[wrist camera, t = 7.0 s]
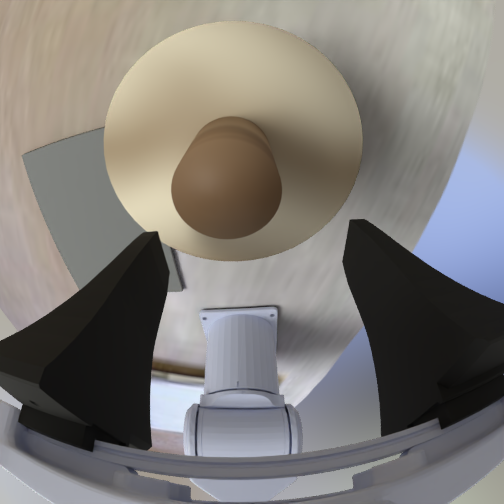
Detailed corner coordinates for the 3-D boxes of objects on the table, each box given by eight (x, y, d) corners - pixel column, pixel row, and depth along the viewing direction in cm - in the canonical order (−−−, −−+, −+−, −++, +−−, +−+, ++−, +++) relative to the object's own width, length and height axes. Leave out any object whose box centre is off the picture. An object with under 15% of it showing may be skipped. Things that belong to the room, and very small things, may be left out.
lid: (340, 246, 14) (366, 308, 11) (140, 255, 14) (116, 317, 11) (361, 32, 7) (420, 25, 4) (96, 50, 7) (32, 55, 4)
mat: (183, 288, 26) (182, 291, 26) (82, 290, 26) (81, 292, 26) (143, 118, 16) (141, 119, 16) (24, 153, 16) (21, 155, 16)
